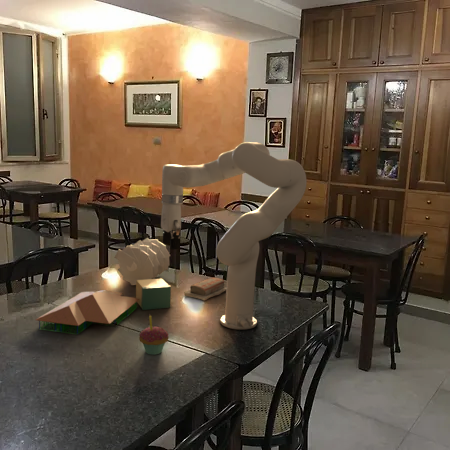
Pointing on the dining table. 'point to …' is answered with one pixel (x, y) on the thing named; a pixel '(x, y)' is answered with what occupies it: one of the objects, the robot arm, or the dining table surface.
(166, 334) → the cupcake
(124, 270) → the spiral staircase
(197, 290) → the packaged product
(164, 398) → the dining table surface
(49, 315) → the house
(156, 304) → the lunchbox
